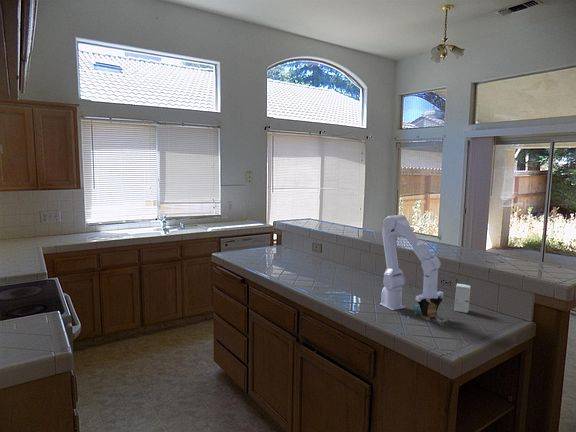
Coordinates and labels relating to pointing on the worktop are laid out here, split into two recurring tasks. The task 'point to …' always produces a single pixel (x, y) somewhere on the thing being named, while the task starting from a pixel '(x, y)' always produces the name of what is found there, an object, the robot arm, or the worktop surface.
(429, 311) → the keeper
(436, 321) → the rail
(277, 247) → the worktop surface
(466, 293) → the skincare box
